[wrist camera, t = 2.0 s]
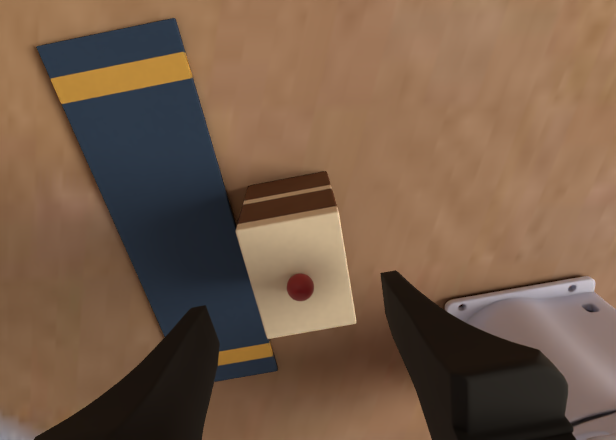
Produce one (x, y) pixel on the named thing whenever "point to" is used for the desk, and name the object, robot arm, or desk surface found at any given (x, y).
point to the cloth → (161, 180)
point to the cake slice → (296, 255)
